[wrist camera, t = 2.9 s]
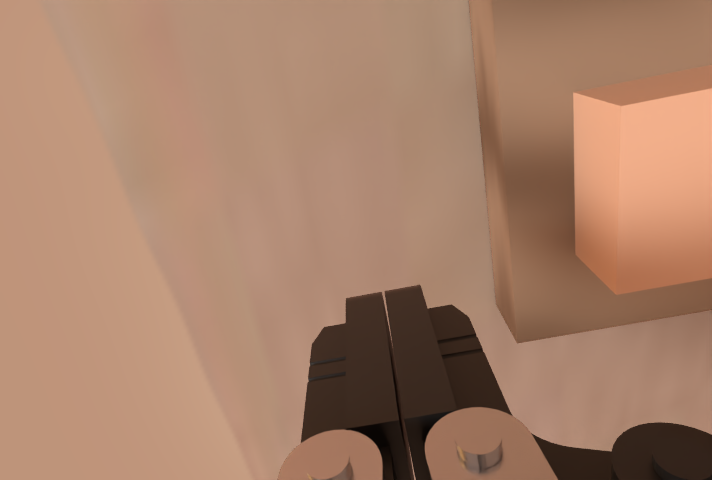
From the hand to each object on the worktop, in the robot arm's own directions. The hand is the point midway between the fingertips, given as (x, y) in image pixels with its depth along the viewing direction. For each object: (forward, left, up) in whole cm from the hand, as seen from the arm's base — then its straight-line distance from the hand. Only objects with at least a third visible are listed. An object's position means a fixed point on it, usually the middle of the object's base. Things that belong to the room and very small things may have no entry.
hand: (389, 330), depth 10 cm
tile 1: (0, +9, -5) cm, 10 cm away
